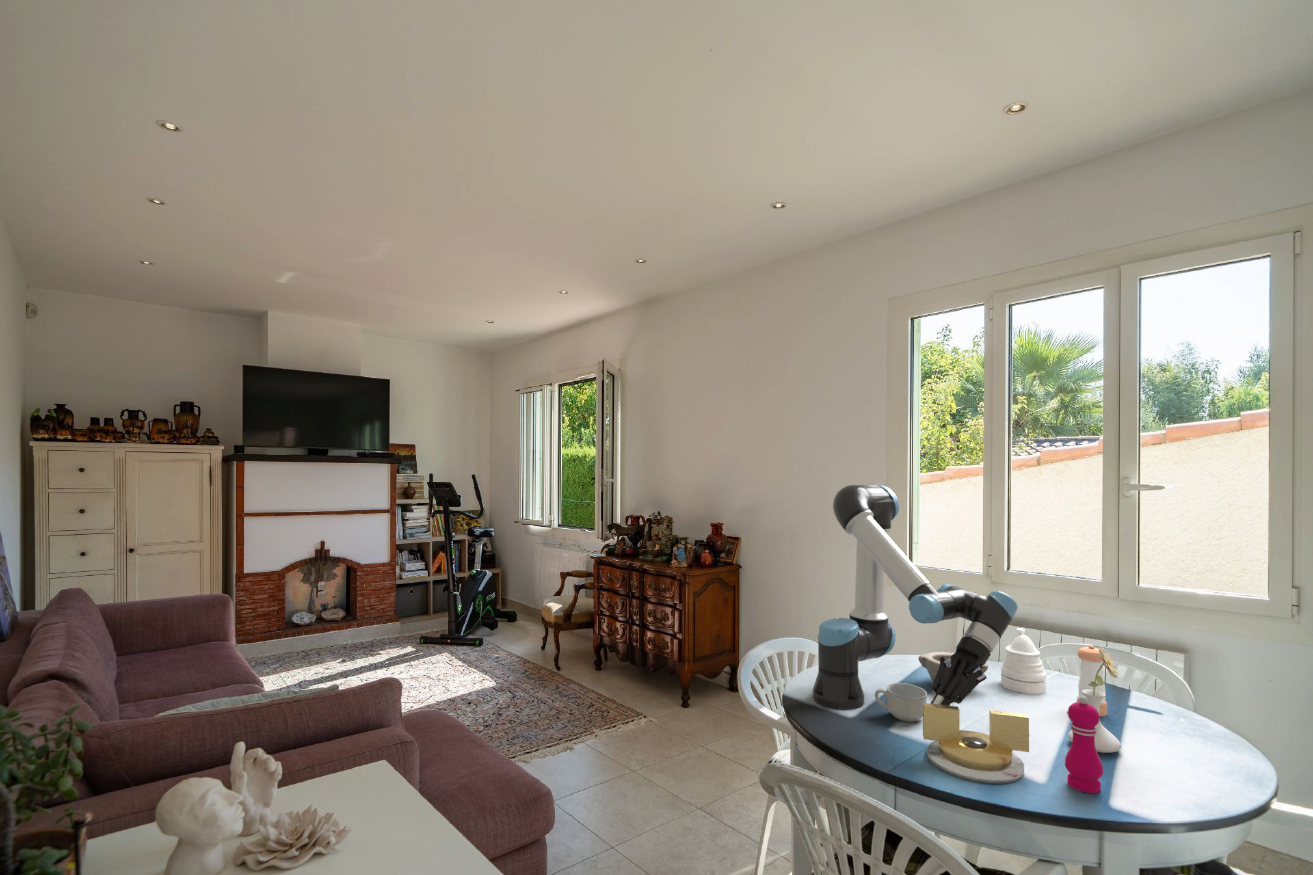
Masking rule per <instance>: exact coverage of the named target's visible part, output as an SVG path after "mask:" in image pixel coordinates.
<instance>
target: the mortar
mask: <svg viewBox="0 0 1313 875" xmlns="http://www.w3.org/2000/svg"><path fill="white" fill-rule="evenodd" d="M954 653H955V652H953V651H934V652H927V653H922V654H920V655H919V656H918V662H919V664H920V665H921V667H923V668H925V670H926V672H927V673H928V675H929V677H930V679H931V681H932V682H933V683H934V680H935V677H936V674H937V672H938V669H939V666H940V658H941V657H944V658H945V659H947V658H951V656H952V655H953V654H954ZM988 669H989V666H988V664H987V662H986V663H985V665H983V666H982V669H981V671H982V672H983V673H984V674H985V673H986V671H988Z"/></svg>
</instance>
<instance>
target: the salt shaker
mask: <svg viewBox="0 0 1313 875" xmlns="http://www.w3.org/2000/svg"><path fill="white" fill-rule="evenodd" d="M1098 649H1099V648H1097V647H1095V646H1094V645H1092V644H1090V645H1088V646H1084V647H1083V646H1082V647H1080V648H1078V650H1077V653H1076V654H1077V656H1078V658H1079V659H1080V673H1079V674H1080V675H1079V680H1078V696H1077V697H1076V702H1079V697H1081V696H1084V697H1086V696H1085V695H1084V693H1083V692H1082V691H1083V690H1093V689H1094V687H1092V686H1089V685H1088V684H1090V683H1091V682H1092V681H1094V682H1095V677H1096V673H1097V671H1098V669H1099V668H1100V666H1101V665H1102V663H1103V662H1102V660H1101V658H1100V655H1099V650H1098ZM1103 670H1104V665H1103V666H1102V668H1101V669H1100V671H1099V673H1098V675H1099V676H1101V677H1102V679H1103V681H1104V682H1105V680H1104V671H1103ZM1096 683H1097V684H1099V683H1098V682H1097V680H1096ZM1095 690H1096V691H1100V692H1102V693H1104V694H1105V695H1106V685H1105V683H1104V684H1103V685H1102V686H1101V685H1099V686H1096V687H1095ZM1087 704H1088V703H1087ZM1107 715H1108V702H1107V701H1106V696H1105V697H1104V698H1103V699H1102V701H1101V703H1100V709H1099V717H1106V716H1107Z"/></svg>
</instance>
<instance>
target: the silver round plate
mask: <svg viewBox="0 0 1313 875" xmlns="http://www.w3.org/2000/svg"><path fill="white" fill-rule="evenodd" d="M927 758H928V760H929V762H930V763H931V764H933V766H935V767H936V768H938V769H939V770H941V771H943V772H945V773H947V774H949V775H951V776H954V777H957V778H960V779H964V780H967V781H971V782H976V783H983V784H991V785H992V784H993V785H994V784H996V785H997V784H999V785H1003V784H1011V782H1012V783H1015V782H1018V781H1020V780H1021V779H1022V778H1023V777H1024V776H1025V764H1024V762H1023V760H1022V759H1021V757H1019V756H1018V755H1016V754H1015V753H1013V752H1012V764H1011V765H1010V766H1009V767H1007V768H1003V769H996V770H988V769H978V768H973V767H968V766H965V765H961V764H959V763H956V762H954V761H951V760H949V759H948V758H946V757H945V756H943V755H942V754H941V753H940V751H939V741H933V740H932V742H930V743H929V744H928V745H927ZM1014 781H1015V782H1014Z"/></svg>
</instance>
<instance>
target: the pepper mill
mask: <svg viewBox="0 0 1313 875" xmlns="http://www.w3.org/2000/svg"><path fill="white" fill-rule="evenodd" d="M1087 703H1088V699H1087V698H1086V697H1084V696H1081V697H1079V702H1077V701H1076V702H1074V703H1072V704H1070V705H1069V707H1068V709H1067V716H1068V719H1069V720H1070V721H1071V723H1070V731H1071V730H1072V731H1073V741H1072V742H1071V745H1070V748H1069V749H1068V751H1067V753H1066V756H1065V758H1064V765H1065V768H1066V770H1067V772H1069V773H1068V774H1067V785H1069V787H1070V788H1072V789H1074V790H1076V791H1078V790H1079V792H1081V793H1085V792H1088V793H1087V794H1098V793H1100V792H1101V790H1102V789H1101V781H1100V780H1099V779H1101V778H1102V777H1103V775H1104V768H1103V763H1102V760H1101V758H1100V756H1099V754H1098V752H1097V751H1096V748H1095V741H1094V739H1095V735H1097V732H1096V730H1097V728H1096V727H1095V726H1096V725H1097V724H1098V723H1099V719H1100V716H1099V713H1098V711H1097V710H1096V709H1095V708H1094V707H1093V706H1091V705H1089V704H1087Z"/></svg>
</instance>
